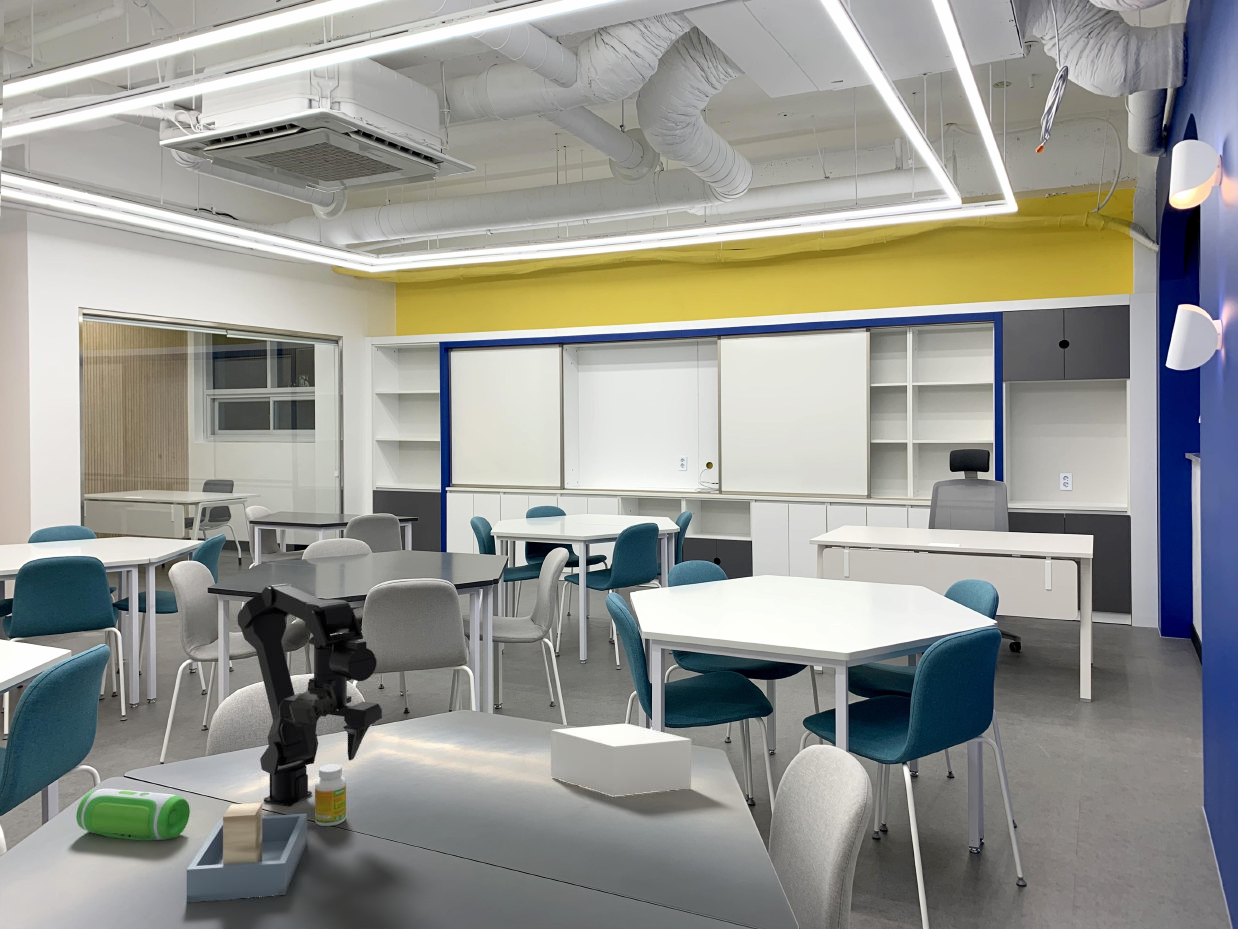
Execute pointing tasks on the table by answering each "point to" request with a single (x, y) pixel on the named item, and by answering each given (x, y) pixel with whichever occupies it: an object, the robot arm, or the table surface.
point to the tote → (251, 879)
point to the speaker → (133, 814)
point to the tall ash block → (242, 833)
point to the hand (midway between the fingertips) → (330, 756)
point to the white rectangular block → (621, 759)
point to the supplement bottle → (330, 796)
